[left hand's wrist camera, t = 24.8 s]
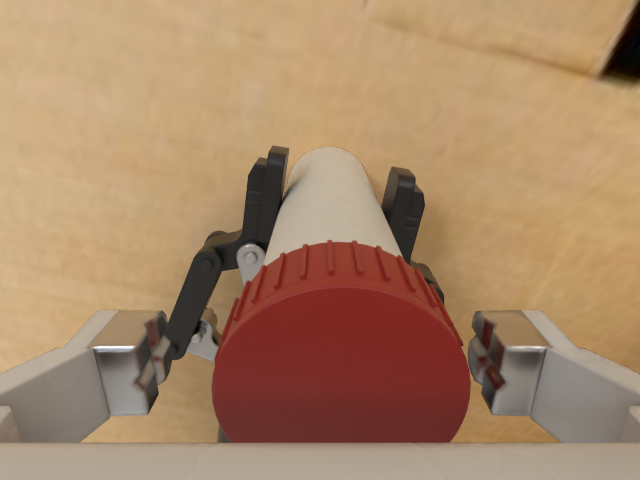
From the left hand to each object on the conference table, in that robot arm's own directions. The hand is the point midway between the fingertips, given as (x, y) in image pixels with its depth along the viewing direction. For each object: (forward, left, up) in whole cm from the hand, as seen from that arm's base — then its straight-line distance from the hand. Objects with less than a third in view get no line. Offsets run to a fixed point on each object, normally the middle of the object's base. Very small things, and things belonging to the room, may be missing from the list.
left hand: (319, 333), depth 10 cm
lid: (0, 0, +2) cm, 2 cm away
